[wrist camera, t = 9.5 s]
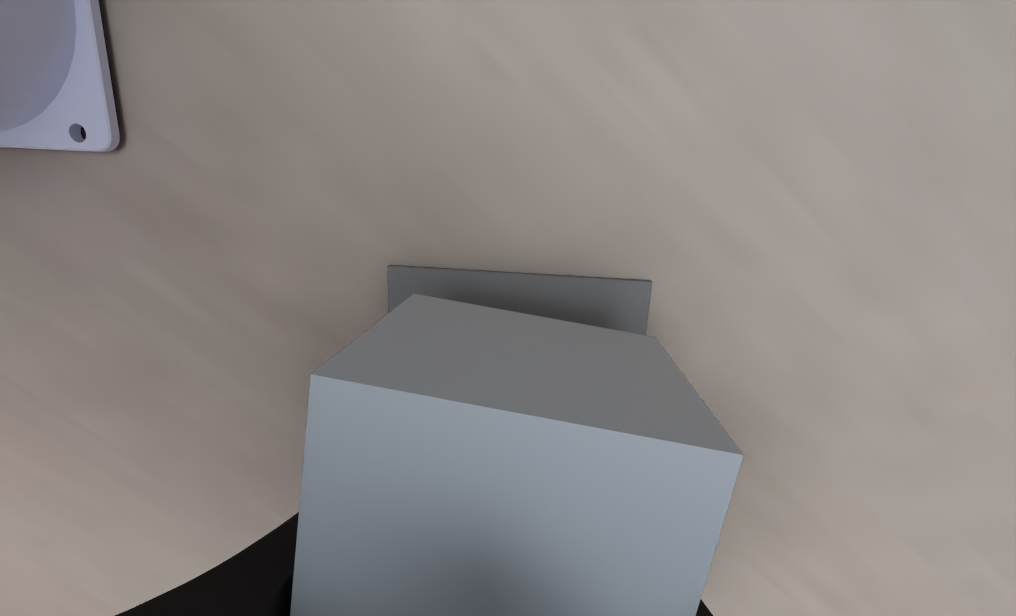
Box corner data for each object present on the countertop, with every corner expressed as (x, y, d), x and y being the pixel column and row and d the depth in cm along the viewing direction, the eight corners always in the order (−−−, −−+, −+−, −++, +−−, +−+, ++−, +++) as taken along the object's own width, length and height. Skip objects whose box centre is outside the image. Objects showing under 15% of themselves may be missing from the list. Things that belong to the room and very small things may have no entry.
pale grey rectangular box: (373, 606, 14) (269, 857, 9) (413, 293, 12) (310, 374, 7) (579, 648, 14) (601, 930, 9) (655, 337, 12) (742, 455, 7)
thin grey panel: (395, 535, 19) (393, 538, 19) (389, 265, 16) (387, 266, 16) (617, 555, 18) (617, 559, 18) (650, 280, 16) (652, 282, 15)
